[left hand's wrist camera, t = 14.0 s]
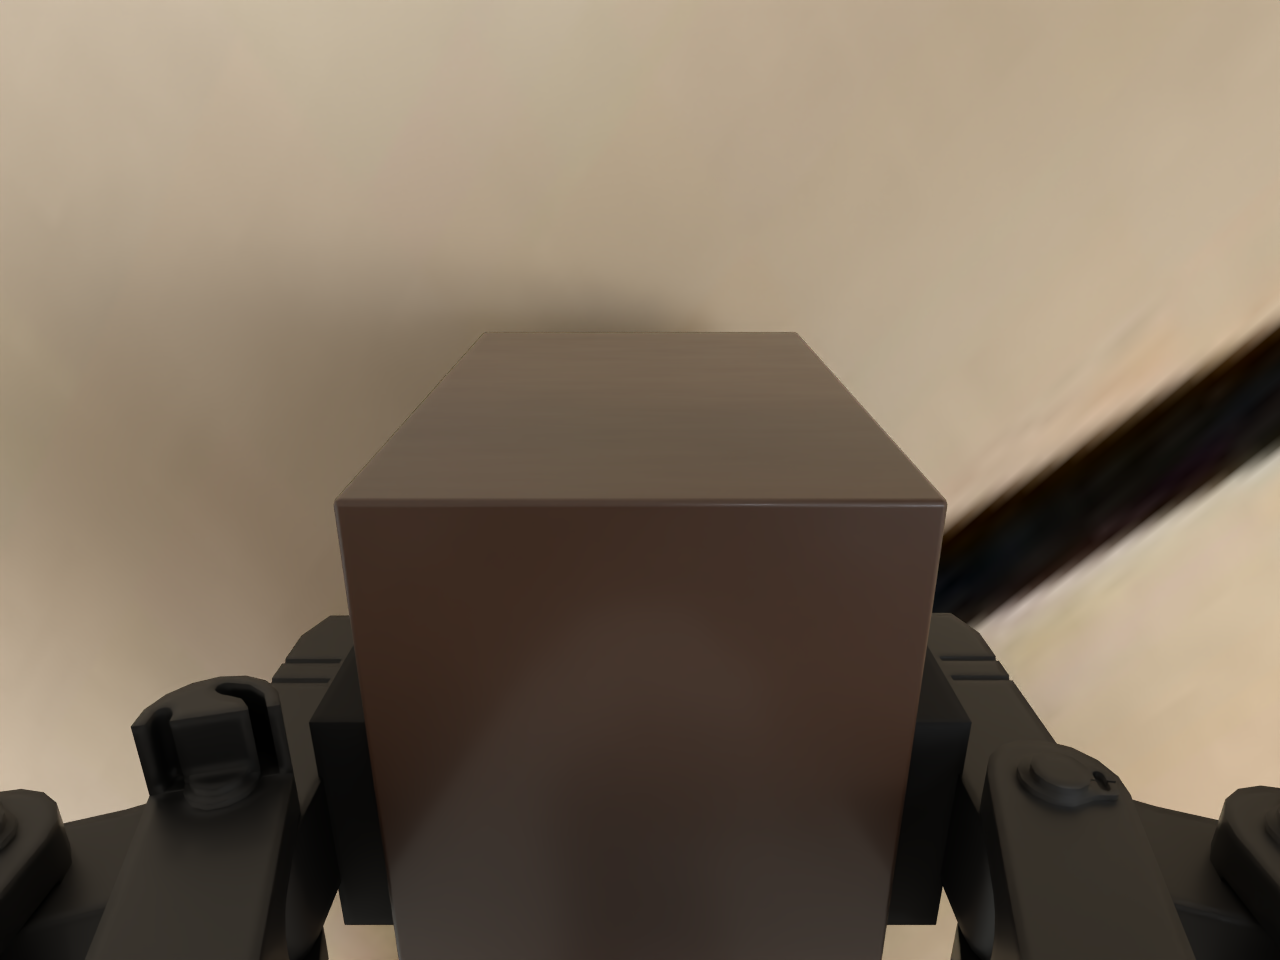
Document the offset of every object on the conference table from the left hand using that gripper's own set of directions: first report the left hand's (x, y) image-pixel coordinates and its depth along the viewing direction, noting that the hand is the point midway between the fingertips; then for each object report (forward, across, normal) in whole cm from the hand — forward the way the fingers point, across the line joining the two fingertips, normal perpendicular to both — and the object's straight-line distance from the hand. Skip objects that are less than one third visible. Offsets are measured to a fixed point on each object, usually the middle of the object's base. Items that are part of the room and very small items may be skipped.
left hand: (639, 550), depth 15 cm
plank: (0, 0, -12) cm, 12 cm away
